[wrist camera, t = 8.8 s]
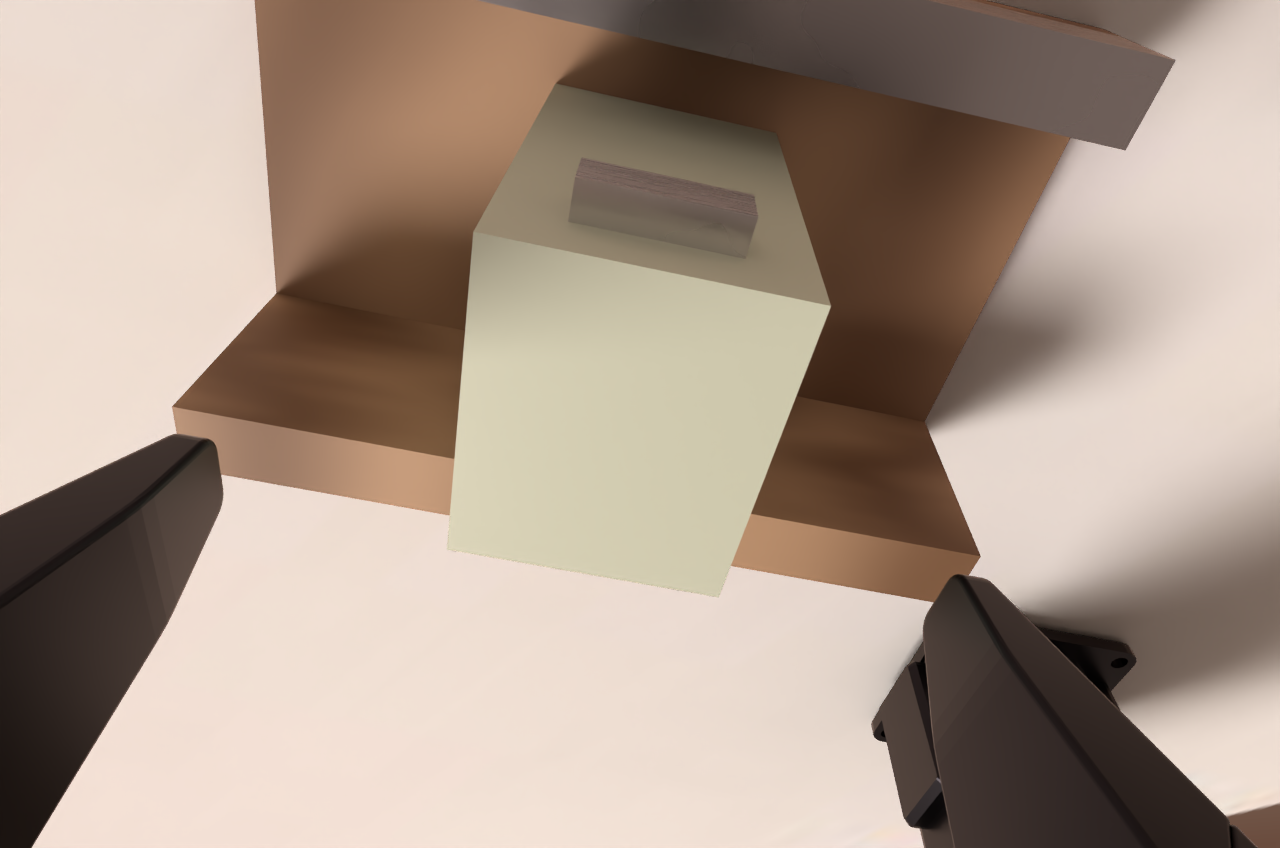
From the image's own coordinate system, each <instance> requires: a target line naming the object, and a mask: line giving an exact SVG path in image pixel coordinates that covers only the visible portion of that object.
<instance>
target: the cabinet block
mask: <svg viewBox="0 0 1280 848" xmlns="http://www.w3.org/2000/svg"><path fill="white" fill-rule="evenodd" d="M830 308H831V304H830V301H829V298H828V295H827V292H826V288H825V285H824V282H823V279H822V276H821V273H820V270H819V266H818V263H817V260H816V257H815V254H814V251H813V247H812V244H811V241H810V238H809V235H808V232H807V229H806V225H805V222H804V219H803V216H802V213H801V210H800V207H799V203H798V200H797V197H796V194H795V191H794V188H793V184H792V181H791V178H790V175H789V172H788V169H787V166H786V162H785V159H784V156H783V153H782V150H781V147H780V143H779V140H778V137H777V134H776V133H774V132H770V131H765V130H761V129H756V128H752V127H747V126H743V125H738V124H734V123H730V122H725V121H721V120H716V119H712V118H707V117H703V116H698V115H694V114H689V113H685V112H681V111H676V110H672V109H667V108H663V107H658V106H654V105H649V104H645V103H641V102H636V101H632V100H627V99H623V98H618V97H614V96H609V95H605V94H600V93H596V92H592V91H587V90H583V89H578V88H574V87H569V86H565V85H560V84H556V83H555V85H554V87H553V89H552V91H551V92H550V94H549V96H548V98H547V100H546V102H545V103H544V105H543V107H542V109H541V111H540V112H539V114H538V116H537V118H536V120H535V121H534V123H533V125H532V127H531V129H530V130H529V132H528V134H527V136H526V138H525V139H524V141H523V143H522V145H521V147H520V148H519V150H518V152H517V154H516V156H515V157H514V159H513V161H512V163H511V165H510V166H509V168H508V170H507V172H506V174H505V175H504V177H503V179H502V181H501V183H500V185H499V186H498V188H497V190H496V192H495V194H494V195H493V197H492V199H491V201H490V203H489V204H488V206H487V208H486V210H485V212H484V213H483V215H482V217H481V219H480V221H479V222H478V224H477V226H476V228H475V230H474V231H473V242H472V254H471V266H470V278H469V290H468V302H467V314H466V326H465V338H464V350H463V362H462V374H461V386H460V398H459V410H458V422H457V434H456V446H455V458H454V470H453V482H452V494H451V506H450V518H449V530H448V542H447V550H452V551H458V552H464V553H469V554H475V555H481V556H487V557H492V558H498V559H504V560H509V561H515V562H521V563H526V564H532V565H538V566H543V567H549V568H555V569H560V570H566V571H572V572H578V573H583V574H589V575H595V576H600V577H606V578H612V579H617V580H623V581H629V582H634V583H640V584H646V585H651V586H657V587H663V588H668V589H674V590H680V591H686V592H691V593H697V594H703V595H708V596H714V597H719V595H720V593H721V590H722V587H723V585H724V582H725V580H726V577H727V574H728V572H729V569H730V567H731V564H732V561H733V559H734V556H735V554H736V551H737V549H738V546H739V543H740V541H741V538H742V536H743V533H744V530H745V528H746V525H747V523H748V520H749V517H750V515H751V512H752V510H753V507H754V504H755V502H756V499H757V497H758V494H759V492H760V489H761V486H762V484H763V481H764V479H765V476H766V473H767V471H768V468H769V466H770V463H771V460H772V458H773V455H774V453H775V450H776V448H777V445H778V442H779V440H780V437H781V435H782V432H783V429H784V427H785V424H786V422H787V419H788V416H789V414H790V411H791V409H792V406H793V403H794V401H795V398H796V396H797V393H798V391H799V388H800V385H801V383H802V380H803V378H804V375H805V372H806V370H807V367H808V365H809V362H810V359H811V357H812V354H813V352H814V349H815V346H816V344H817V341H818V339H819V336H820V334H821V331H822V328H823V326H824V323H825V321H826V318H827V315H828V313H829V310H830Z"/></svg>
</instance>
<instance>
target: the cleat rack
mask: <svg viewBox="0 0 1280 848" xmlns="http://www.w3.org/2000/svg"><path fill="white" fill-rule="evenodd" d="M255 10H256V23H257V37H258V50H259V64H260V77H261V91H262V104H263V118H264V131H265V144H266V158H267V171H268V185H269V198H270V212H271V225H272V238H273V252H274V265H275V279H276V292H277V293H276V294H275V296H274V297H273V298H272V299H271V300H270V301H269V302H268V303H267V304H266V305H265V306H264V307H263V309H262V310H261V311H260V312H259V313H258V314H257V315H256V316H255V317H254V318H253V319H252V321H251V322H250V323H249V324H248V325H247V326H246V327H245V328H244V329H243V330H242V331H241V332H240V334H239V335H238V336H237V337H236V338H235V339H234V340H233V341H232V342H231V343H230V344H229V346H228V347H227V348H226V349H225V350H224V351H223V352H222V353H221V354H220V355H219V356H218V357H217V359H216V360H215V361H214V362H213V363H212V364H211V365H210V366H209V367H208V368H207V369H206V371H205V372H204V373H203V374H202V375H201V376H200V377H199V378H198V379H197V380H196V381H195V383H194V384H193V385H192V386H191V387H190V388H189V389H188V390H187V391H186V392H185V393H184V394H183V396H182V397H181V398H180V399H179V400H178V401H177V402H176V403H175V404H174V405H173V406H172V409H173V414H174V420H175V426H176V431H177V434H186V435H192V436H198V437H203V438H208V439H210V440H212V441H213V442H214V443H215V445H216V447H217V451H218V458H219V465H220V472H221V474H222V475H227V476H233V477H238V478H244V479H250V480H255V481H261V482H266V483H272V484H277V485H283V486H289V487H294V488H300V489H305V490H311V491H316V492H322V493H328V494H333V495H339V496H344V497H350V498H355V499H361V500H367V501H372V502H378V503H383V504H389V505H394V506H400V507H406V508H411V509H417V510H422V511H428V512H434V513H439V514H445V515H450V506H451V494H452V482H453V470H454V458H455V446H456V434H457V422H458V410H459V398H460V386H461V374H462V362H463V350H464V338H465V326H466V314H467V302H468V290H469V278H470V266H471V254H472V242H473V231H474V230H475V228H476V226H477V224H478V222H479V221H480V219H481V217H482V215H483V213H484V212H485V210H486V208H487V206H488V204H489V203H490V201H491V199H492V197H493V195H494V194H495V192H496V190H497V188H498V186H499V185H500V183H501V181H502V179H503V177H504V175H505V174H506V172H507V170H508V168H509V166H510V165H511V163H512V161H513V159H514V157H515V156H516V154H517V152H518V150H519V148H520V147H521V145H522V143H523V141H524V139H525V138H526V136H527V134H528V132H529V130H530V129H531V127H532V125H533V123H534V121H535V120H536V118H537V116H538V114H539V112H540V111H541V109H542V107H543V105H544V103H545V102H546V100H547V98H548V96H549V94H550V92H551V91H552V89H553V87H554V85H555V83H556V84H560V85H565V86H569V87H574V88H578V89H583V90H587V91H592V92H596V93H600V94H605V95H609V96H614V97H618V98H623V99H627V100H632V101H636V102H641V103H645V104H649V105H654V106H658V107H663V108H667V109H672V110H676V111H681V112H685V113H689V114H694V115H698V116H703V117H707V118H712V119H716V120H721V121H725V122H730V123H734V124H738V125H743V126H747V127H752V128H756V129H761V130H765V131H770V132H774V133H776V134H777V137H778V140H779V143H780V147H781V150H782V153H783V156H784V159H785V162H786V166H787V169H788V172H789V175H790V178H791V181H792V184H793V188H794V191H795V194H796V197H797V200H798V203H799V207H800V210H801V213H802V216H803V219H804V222H805V225H806V229H807V232H808V235H809V238H810V241H811V244H812V247H813V251H814V254H815V257H816V260H817V263H818V266H819V270H820V273H821V276H822V279H823V282H824V285H825V288H826V292H827V295H828V298H829V301H830V304H831V308H830V310H829V313H828V315H827V318H826V321H825V323H824V326H823V328H822V331H821V334H820V336H819V339H818V341H817V344H816V346H815V349H814V352H813V354H812V357H811V359H810V362H809V365H808V367H807V370H806V372H805V375H804V378H803V380H802V383H801V385H800V388H799V391H798V393H797V396H796V398H795V401H794V403H793V406H792V409H791V411H790V414H789V416H788V419H787V422H786V424H785V427H784V429H783V432H782V435H781V437H780V440H779V442H778V445H777V448H776V450H775V453H774V455H773V458H772V460H771V463H770V466H769V468H768V471H767V473H766V476H765V479H764V481H763V484H762V486H761V489H760V492H759V494H758V497H757V499H756V502H755V504H754V507H753V510H752V512H751V515H750V517H749V520H748V523H747V525H746V528H745V530H744V533H743V536H742V538H741V541H740V543H739V546H738V549H737V551H736V554H735V556H734V559H733V561H732V564H731V566H735V567H740V568H746V569H751V570H757V571H763V572H768V573H774V574H779V575H785V576H790V577H796V578H802V579H807V580H813V581H818V582H824V583H829V584H835V585H841V586H846V587H852V588H857V589H863V590H868V591H874V592H880V593H885V594H891V595H896V596H902V597H907V598H913V599H919V600H924V601H930V602H935V600H936V599H937V597H938V595H939V594H940V592H941V591H942V589H943V587H944V586H945V584H946V583H947V581H948V580H949V579H950V578H951V577H952V576H953V575H955V574H964V575H969V574H970V572H971V571H972V569H973V568H974V566H975V564H976V563H977V561H978V560H979V558H980V557H981V556H980V554H979V551H978V549H977V546H976V544H975V542H974V539H973V537H972V534H971V532H970V530H969V527H968V525H967V522H966V520H965V518H964V515H963V513H962V510H961V508H960V506H959V503H958V501H957V498H956V496H955V494H954V491H953V489H952V486H951V484H950V481H949V479H948V477H947V474H946V472H945V469H944V467H943V465H942V462H941V460H940V457H939V455H938V453H937V450H936V448H935V445H934V443H933V441H932V438H931V436H930V433H929V431H928V429H927V426H926V424H925V420H926V418H927V416H928V414H929V412H930V410H931V408H932V406H933V404H934V402H935V400H936V398H937V396H938V394H939V392H940V391H941V389H942V387H943V385H944V383H945V381H946V379H947V377H948V375H949V373H950V371H951V369H952V367H953V365H954V363H955V361H956V359H957V357H958V355H959V354H960V352H961V350H962V348H963V346H964V344H965V342H966V340H967V338H968V336H969V334H970V332H971V330H972V328H973V326H974V324H975V322H976V320H977V318H978V316H979V315H980V313H981V311H982V309H983V307H984V305H985V303H986V301H987V299H988V297H989V295H990V293H991V291H992V289H993V287H994V285H995V283H996V281H997V279H998V278H999V276H1000V274H1001V272H1002V270H1003V268H1004V266H1005V264H1006V262H1007V260H1008V258H1009V256H1010V254H1011V252H1012V250H1013V248H1014V246H1015V244H1016V242H1017V240H1018V239H1019V237H1020V235H1021V233H1022V231H1023V229H1024V227H1025V225H1026V223H1027V221H1028V219H1029V217H1030V215H1031V213H1032V211H1033V209H1034V207H1035V205H1036V203H1037V202H1038V200H1039V198H1040V196H1041V194H1042V192H1043V190H1044V188H1045V186H1046V184H1047V182H1048V180H1049V178H1050V176H1051V174H1052V172H1053V170H1054V168H1055V166H1056V164H1057V163H1058V161H1059V159H1060V157H1061V155H1062V153H1063V151H1064V149H1065V147H1066V145H1067V143H1068V141H1069V139H1070V138H1075V139H1079V140H1083V141H1088V142H1092V143H1096V144H1101V145H1105V146H1109V147H1113V148H1118V149H1122V150H1126V148H1127V146H1128V145H1129V143H1130V141H1131V139H1132V137H1133V136H1134V134H1135V132H1136V130H1137V129H1138V127H1139V125H1140V123H1141V121H1142V120H1143V118H1144V116H1145V114H1146V112H1147V111H1148V109H1149V107H1150V105H1151V103H1152V102H1153V100H1154V98H1155V96H1156V94H1157V93H1158V91H1159V89H1160V87H1161V86H1162V84H1163V82H1164V80H1165V78H1166V77H1167V75H1168V73H1169V71H1170V69H1171V68H1172V66H1173V64H1174V62H1175V60H1174V59H1171V58H1169V57H1167V56H1165V55H1162V54H1160V53H1158V52H1155V51H1153V50H1151V49H1148V48H1146V47H1144V46H1141V45H1139V44H1137V43H1135V42H1132V41H1130V40H1128V39H1125V38H1123V37H1121V36H1118V35H1116V34H1114V33H1111V32H1109V31H1107V30H1105V29H1101V28H1097V27H1093V26H1089V25H1085V24H1081V23H1077V22H1072V21H1068V20H1064V19H1060V18H1056V17H1052V16H1048V15H1044V14H1040V13H1035V12H1031V11H1027V10H1023V9H1019V8H1015V7H1011V6H1007V5H1003V4H999V3H994V2H990V1H986V0H255Z"/></svg>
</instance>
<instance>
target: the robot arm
mask: <svg viewBox="0 0 1280 848" xmlns="http://www.w3.org/2000/svg"><path fill="white" fill-rule="evenodd" d="M222 501H223V485H222V478H221V472H220V465H219V458H218V451H217V447H216V445H215V443H214V442H213V441H212V440H210V439H208V438H203V437H198V436H192V435H186V434H173V435H170V436H168V437H165V438H163V439H161V440H159V441H157V442H155V443H153V444H151V445H148V446H146V447H144V448H142V449H140V450H138V451H136V452H134V453H131V454H129V455H127V456H125V457H123V458H121V459H119V460H116V461H114V462H112V463H110V464H108V465H106V466H104V467H102V468H99V469H97V470H95V471H93V472H91V473H89V474H87V475H84V476H82V477H80V478H78V479H76V480H74V481H72V482H70V483H67V484H65V485H63V486H61V487H59V488H57V489H55V490H53V491H50V492H48V493H46V494H44V495H42V496H40V497H38V498H35V499H33V500H31V501H29V502H27V503H25V504H23V505H21V506H18V507H16V508H14V509H12V510H10V511H8V512H6V513H4V514H1V515H0V848H32V846H33V844H34V843H35V841H36V840H37V838H38V836H39V835H40V833H41V831H42V830H43V828H44V826H45V825H46V823H47V822H48V820H49V818H50V817H51V815H52V813H53V812H54V810H55V808H56V807H57V805H58V803H59V802H60V800H61V799H62V797H63V795H64V794H65V792H66V790H67V789H68V787H69V785H70V784H71V782H72V781H73V779H74V777H75V776H76V774H77V772H78V771H79V769H80V767H81V766H82V764H83V762H84V761H85V759H86V758H87V756H88V754H89V753H90V751H91V749H92V748H93V746H94V744H95V743H96V741H97V740H98V738H99V736H100V735H101V733H102V731H103V730H104V728H105V726H106V725H107V723H108V721H109V720H110V718H111V717H112V715H113V713H114V712H115V710H116V708H117V707H118V705H119V703H120V702H121V700H122V699H123V697H124V695H125V694H126V692H127V690H128V689H129V687H130V685H131V684H132V682H133V680H134V679H135V677H136V676H137V674H138V672H139V671H140V669H141V667H142V666H143V664H144V662H145V661H146V659H147V658H148V656H149V654H150V653H151V651H152V649H153V648H154V646H155V644H156V643H157V641H158V639H159V638H160V636H161V634H162V632H163V631H164V629H165V627H166V625H167V624H168V622H169V620H170V618H171V616H172V614H173V612H174V610H175V608H176V605H177V603H178V601H179V599H180V597H181V595H182V592H183V590H184V588H185V586H186V584H187V582H188V579H189V577H190V575H191V573H192V571H193V569H194V566H195V564H196V562H197V560H198V558H199V555H200V553H201V551H202V549H203V547H204V545H205V542H206V540H207V538H208V536H209V534H210V531H211V529H212V527H213V525H214V523H215V521H216V518H217V516H218V514H219V512H220V509H221V506H222ZM923 640H924V641H923V643H922V645H921V646H920V648H919V649H918V651H917V652H916V654H915V655H914V657H913V659H912V660H911V662H910V663H909V664H908V665H907V666H906V667H905V669H904V670H903V672H902V674H901V675H900V677H899V678H898V680H897V681H896V683H895V685H894V686H893V688H892V689H891V691H890V692H889V694H888V695H887V697H886V699H885V700H884V702H883V703H882V705H881V706H880V710H879V712H878V713H877V715H876V716H875V718H874V719H873V721H872V724H871V725H872V730H873V735H874V737H875V738H876V739H877V740H879V741H883V742H887V746H888V750H889V754H890V759H891V763H892V768H893V772H894V777H895V781H896V786H897V790H898V795H899V799H900V803H901V808H902V812H903V817H904V819H905V820H906V822H907V823H908V825H909V826H910V827H914V828H920V831H921V836H922V840H923V844H924V848H1258V847H1257V846H1256V845H1254V843H1253V842H1252V841H1251V840H1250V839H1248V838H1247V837H1246V836H1245V834H1244V833H1243V832H1242V831H1241V830H1240V829H1239V828H1238V827H1236V826H1234V825H1230V822H1229V819H1228V818H1227V817H1226V816H1225V815H1224V814H1223V813H1222V812H1221V811H1220V810H1219V809H1218V808H1217V807H1216V806H1215V805H1214V804H1213V803H1212V802H1211V801H1210V800H1209V799H1208V798H1207V797H1206V796H1205V795H1204V794H1203V793H1202V792H1201V791H1200V790H1199V789H1198V788H1197V787H1196V786H1195V785H1194V784H1193V783H1192V782H1191V781H1190V780H1189V779H1188V778H1187V777H1186V776H1185V775H1184V774H1183V773H1182V772H1181V771H1180V770H1179V769H1178V768H1177V767H1176V766H1175V765H1174V764H1173V763H1172V762H1171V761H1170V760H1169V759H1168V758H1167V757H1166V756H1165V755H1164V754H1163V753H1162V752H1161V751H1160V750H1159V749H1158V748H1157V747H1156V746H1155V745H1154V744H1153V743H1152V742H1151V741H1150V740H1149V739H1148V738H1147V737H1146V736H1145V735H1144V734H1143V733H1142V732H1141V731H1140V730H1139V729H1138V728H1137V727H1136V726H1135V725H1134V724H1133V723H1132V722H1131V721H1130V720H1129V719H1128V718H1127V717H1126V716H1125V715H1124V714H1123V713H1122V712H1121V711H1120V709H1119V707H1118V705H1117V703H1116V701H1115V699H1114V697H1113V695H1112V693H1111V690H1112V689H1113V688H1114V687H1115V686H1116V685H1117V684H1118V683H1119V682H1120V681H1121V679H1122V678H1123V677H1124V676H1125V675H1126V674H1127V673H1128V672H1129V671H1130V670H1131V668H1132V667H1133V666H1134V665H1135V663H1136V657H1135V655H1134V653H1133V652H1132V650H1131V648H1130V647H1129V646H1128V645H1127V644H1124V643H1120V642H1115V641H1109V640H1103V639H1098V638H1092V637H1087V636H1081V635H1075V634H1070V633H1064V632H1059V631H1053V630H1047V629H1042V628H1037V627H1036V626H1035V625H1034V624H1033V623H1032V622H1031V621H1030V620H1029V619H1028V618H1027V617H1026V616H1025V615H1024V614H1023V613H1022V612H1021V611H1020V610H1019V609H1018V608H1017V607H1016V606H1015V605H1014V604H1013V603H1012V602H1011V601H1010V600H1009V599H1008V598H1007V597H1006V596H1005V595H1004V594H1003V593H1002V592H1001V591H1000V590H999V589H998V588H997V587H996V586H995V585H994V584H992V583H991V582H990V581H989V580H987V579H984V578H980V577H975V576H969V575H964V574H955V575H953V576H952V577H951V578H950V579H949V580H948V581H947V583H946V584H945V586H944V587H943V589H942V591H941V592H940V594H939V595H938V597H937V599H936V600H935V602H934V603H933V605H932V607H931V608H930V610H929V611H928V613H927V615H926V617H925V620H924V625H923Z"/></svg>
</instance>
